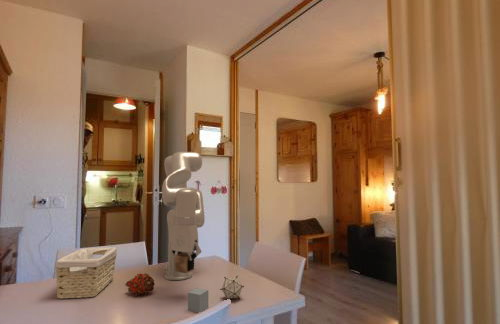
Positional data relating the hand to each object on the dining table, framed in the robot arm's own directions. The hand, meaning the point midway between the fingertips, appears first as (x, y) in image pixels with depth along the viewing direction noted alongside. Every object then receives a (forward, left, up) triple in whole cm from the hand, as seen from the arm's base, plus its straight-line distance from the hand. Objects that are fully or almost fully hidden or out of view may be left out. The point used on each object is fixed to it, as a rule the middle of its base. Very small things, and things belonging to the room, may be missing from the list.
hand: (184, 268), depth 112 cm
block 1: (0, 0, -1) cm, 1 cm away
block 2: (+11, -6, -11) cm, 16 cm away
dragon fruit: (-18, -5, -11) cm, 22 cm away
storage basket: (-42, -10, -11) cm, 45 cm away
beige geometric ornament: (+17, +7, -11) cm, 21 cm away
